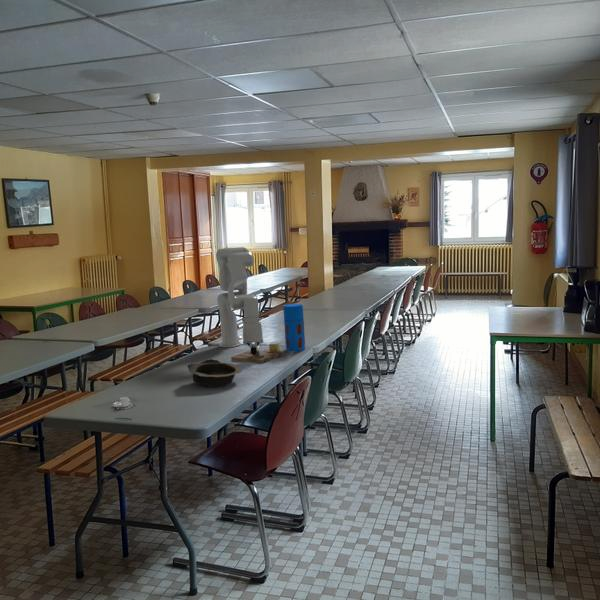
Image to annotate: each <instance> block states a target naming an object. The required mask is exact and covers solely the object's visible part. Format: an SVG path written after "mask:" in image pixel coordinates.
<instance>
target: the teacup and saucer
mask: <svg viewBox="0 0 600 600" xmlns="http://www.w3.org/2000/svg"><path fill="white" fill-rule="evenodd" d="M129 404H131V400H130V399H129V397H128V396H124V397H123V396H122V397H120V401H115V402H113V403H112V406H113V407H114V408H115V407H117V406H121V405H122V406H123V407H125V406H128V407H129V406H130V405H129ZM122 406H121V407H122ZM123 407H122V408H123ZM125 408H126V407H125Z"/></svg>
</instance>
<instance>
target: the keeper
mask: <svg viewBox="0 0 600 600" xmlns="http://www.w3.org/2000/svg"><path fill="white" fill-rule="evenodd" d="M268 344H269V347H268V348H269V350H270V351H271V352H279V351H280V343H273V342H272V343H268Z"/></svg>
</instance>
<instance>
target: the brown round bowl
mask: <svg viewBox="0 0 600 600" xmlns="http://www.w3.org/2000/svg"><path fill="white" fill-rule="evenodd" d="M187 369H188V372H189V373H191V374H192V381H193V382H194V383H197V384H199V386H200V387H203V388H215V387H225V386H227V385H229V384H231V383H232V382H233V380H234V378H235V377H236V375H239V374H240V373H242V371H243V367H241V366H239V365H238V364H235V363H231V362H221V361H219V360H217V359H211V358H210V359H206V360H204V361H201V362H200V363H197V362H196V363H190V364H188V365H187Z"/></svg>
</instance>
